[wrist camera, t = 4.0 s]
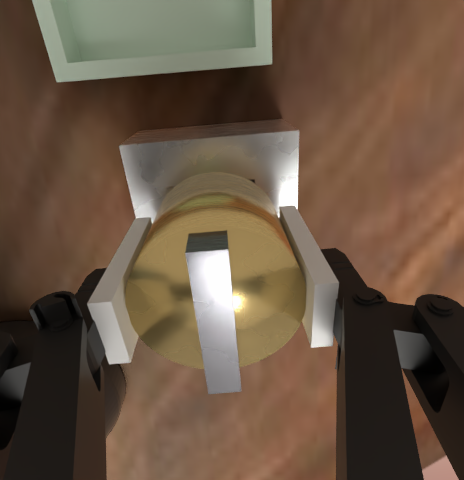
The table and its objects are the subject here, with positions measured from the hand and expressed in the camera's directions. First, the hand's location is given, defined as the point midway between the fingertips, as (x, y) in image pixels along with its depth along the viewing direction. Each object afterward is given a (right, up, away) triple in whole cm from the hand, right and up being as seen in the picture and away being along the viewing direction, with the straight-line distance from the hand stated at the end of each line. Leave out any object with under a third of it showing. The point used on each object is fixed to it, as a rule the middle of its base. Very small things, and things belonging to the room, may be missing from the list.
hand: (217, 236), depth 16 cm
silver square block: (0, +3, +6) cm, 6 cm away
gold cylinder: (0, +3, +6) cm, 6 cm away
